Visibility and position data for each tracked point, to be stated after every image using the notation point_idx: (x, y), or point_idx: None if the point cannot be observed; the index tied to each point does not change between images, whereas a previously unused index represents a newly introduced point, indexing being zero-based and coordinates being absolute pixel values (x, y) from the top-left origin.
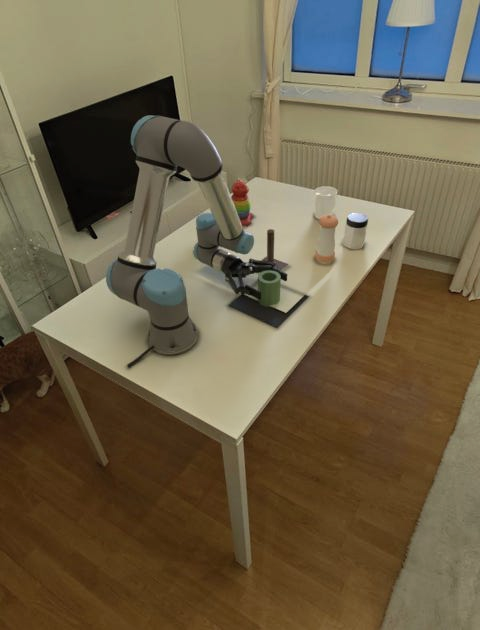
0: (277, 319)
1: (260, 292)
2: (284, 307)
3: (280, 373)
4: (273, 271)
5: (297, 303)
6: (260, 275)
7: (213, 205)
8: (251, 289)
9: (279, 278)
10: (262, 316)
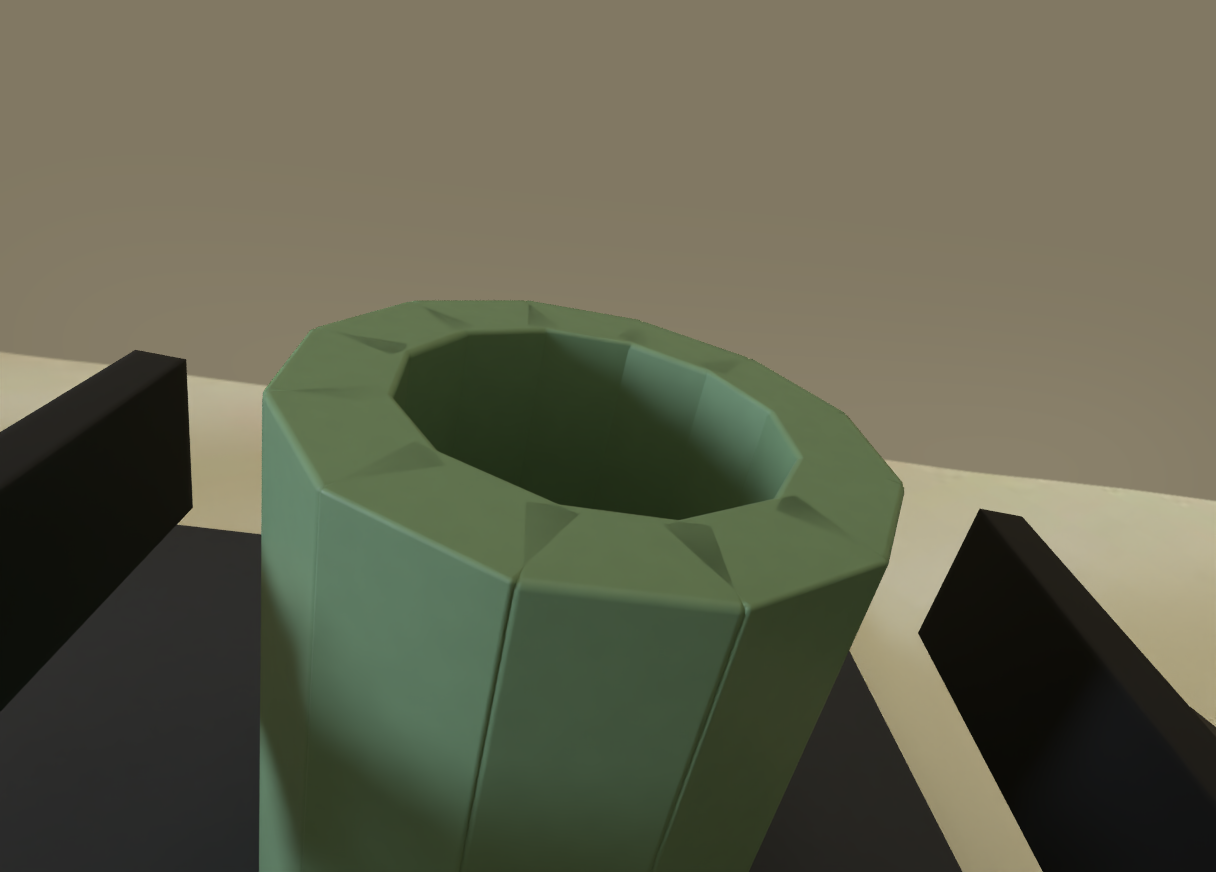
0: None
1: (995, 516)
2: None
3: (1038, 487)
4: (312, 377)
5: None
6: (735, 548)
7: None
8: (1152, 678)
9: (520, 304)
10: (854, 780)
